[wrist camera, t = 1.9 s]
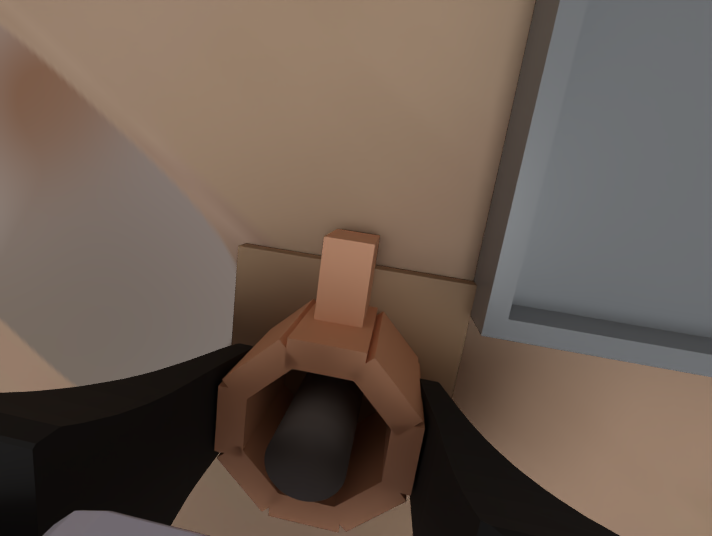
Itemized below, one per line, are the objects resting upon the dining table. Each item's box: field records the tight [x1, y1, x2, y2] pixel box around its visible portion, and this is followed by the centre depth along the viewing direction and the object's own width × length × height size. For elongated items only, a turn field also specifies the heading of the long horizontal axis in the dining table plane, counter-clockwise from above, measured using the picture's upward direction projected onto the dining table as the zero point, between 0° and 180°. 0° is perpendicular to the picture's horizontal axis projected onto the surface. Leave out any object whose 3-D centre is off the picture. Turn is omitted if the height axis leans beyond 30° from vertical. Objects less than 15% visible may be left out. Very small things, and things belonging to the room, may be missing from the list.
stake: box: [232, 243, 477, 502], centre depth 11 cm, size 8×8×5 cm
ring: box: [214, 229, 425, 532], centre depth 11 cm, size 8×5×4 cm
